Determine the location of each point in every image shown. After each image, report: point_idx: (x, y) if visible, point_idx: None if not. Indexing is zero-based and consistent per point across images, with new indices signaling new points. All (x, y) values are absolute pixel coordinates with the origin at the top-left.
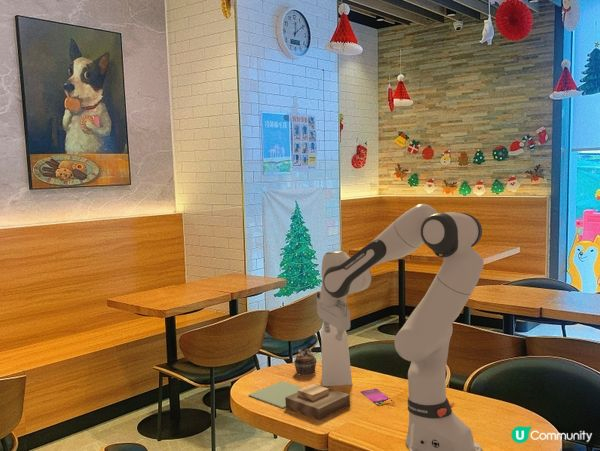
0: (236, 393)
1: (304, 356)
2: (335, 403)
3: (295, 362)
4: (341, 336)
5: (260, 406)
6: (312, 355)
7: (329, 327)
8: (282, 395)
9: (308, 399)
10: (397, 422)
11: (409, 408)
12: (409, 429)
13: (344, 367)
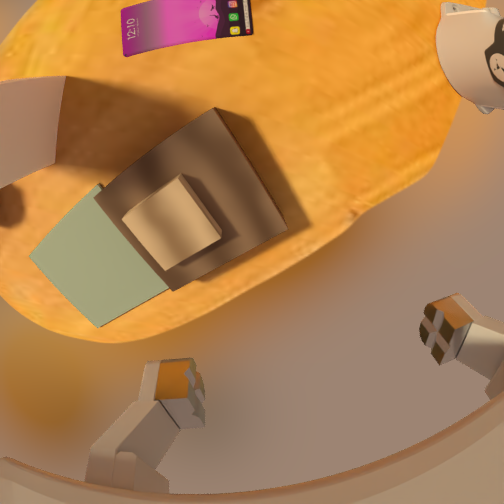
0: (87, 339)
1: None
2: (250, 166)
3: None
4: (475, 315)
5: (155, 317)
6: None
7: (172, 402)
8: (106, 271)
9: None
10: (375, 42)
11: None
12: (494, 101)
13: (28, 100)
